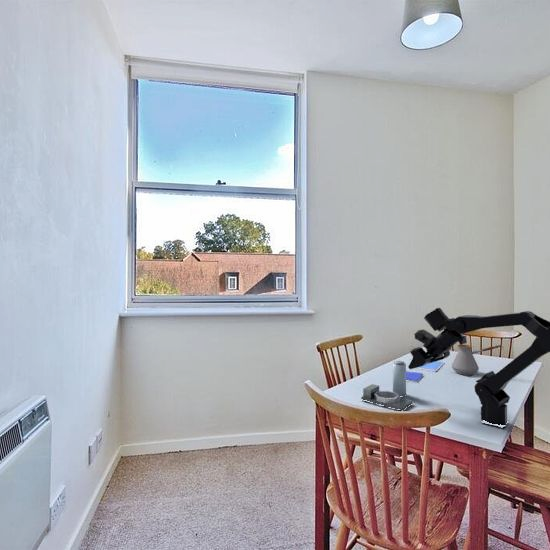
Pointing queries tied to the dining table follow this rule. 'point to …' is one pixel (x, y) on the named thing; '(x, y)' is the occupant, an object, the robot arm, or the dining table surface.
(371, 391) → the motor mount
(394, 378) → the grey capped canister
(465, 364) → the coffee pot
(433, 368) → the tablet computer
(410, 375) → the hard drive
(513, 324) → the robot arm
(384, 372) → the dining table surface
